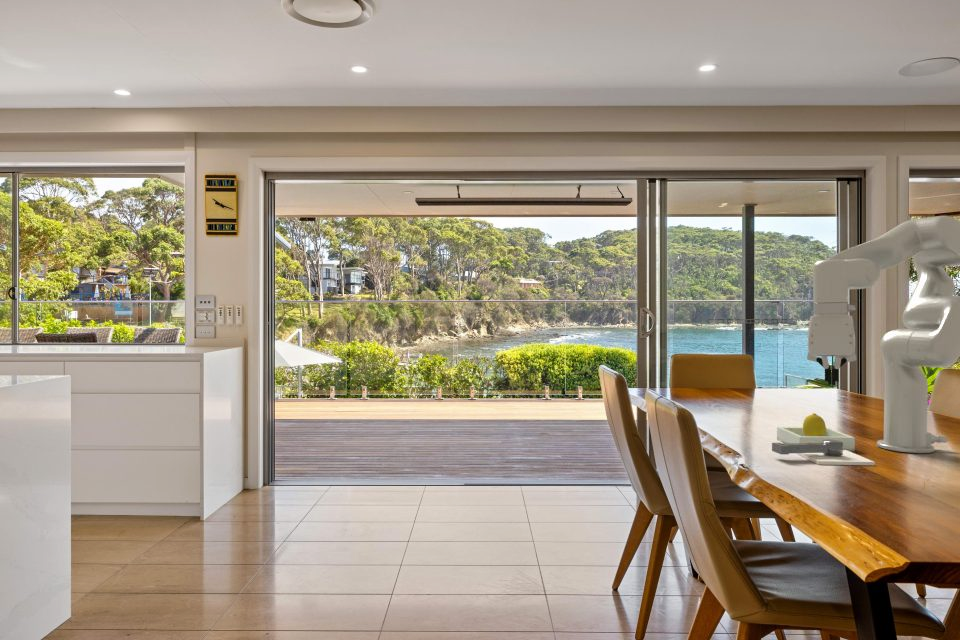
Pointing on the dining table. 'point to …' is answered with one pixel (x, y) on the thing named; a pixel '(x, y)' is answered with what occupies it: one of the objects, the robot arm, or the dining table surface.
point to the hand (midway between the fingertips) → (831, 384)
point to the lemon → (814, 426)
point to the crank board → (837, 459)
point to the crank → (810, 447)
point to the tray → (814, 437)
